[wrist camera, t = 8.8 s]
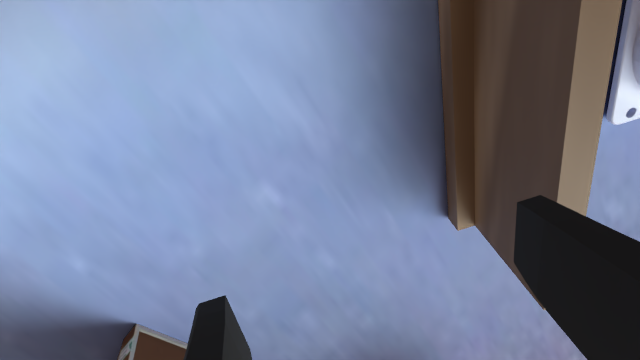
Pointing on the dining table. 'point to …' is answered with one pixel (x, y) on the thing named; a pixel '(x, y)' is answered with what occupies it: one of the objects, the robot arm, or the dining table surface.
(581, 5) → the walnut screen
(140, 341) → the food container
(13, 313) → the dining table surface
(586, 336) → the robot arm
